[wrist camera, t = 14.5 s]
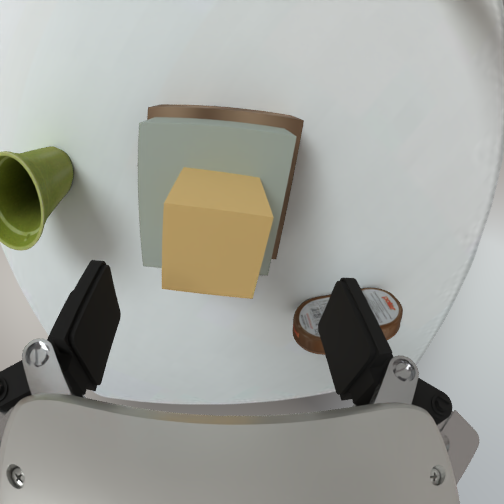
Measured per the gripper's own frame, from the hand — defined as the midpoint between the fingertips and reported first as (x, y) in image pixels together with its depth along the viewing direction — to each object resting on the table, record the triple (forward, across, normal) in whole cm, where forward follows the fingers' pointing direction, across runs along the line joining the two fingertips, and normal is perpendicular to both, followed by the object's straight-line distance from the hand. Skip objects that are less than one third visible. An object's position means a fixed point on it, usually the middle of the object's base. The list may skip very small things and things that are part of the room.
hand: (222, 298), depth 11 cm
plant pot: (+18, +20, +1) cm, 26 cm away
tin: (+18, -17, +16) cm, 29 cm away
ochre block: (+9, 0, 0) cm, 9 cm away
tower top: (+13, +1, 0) cm, 13 cm away
